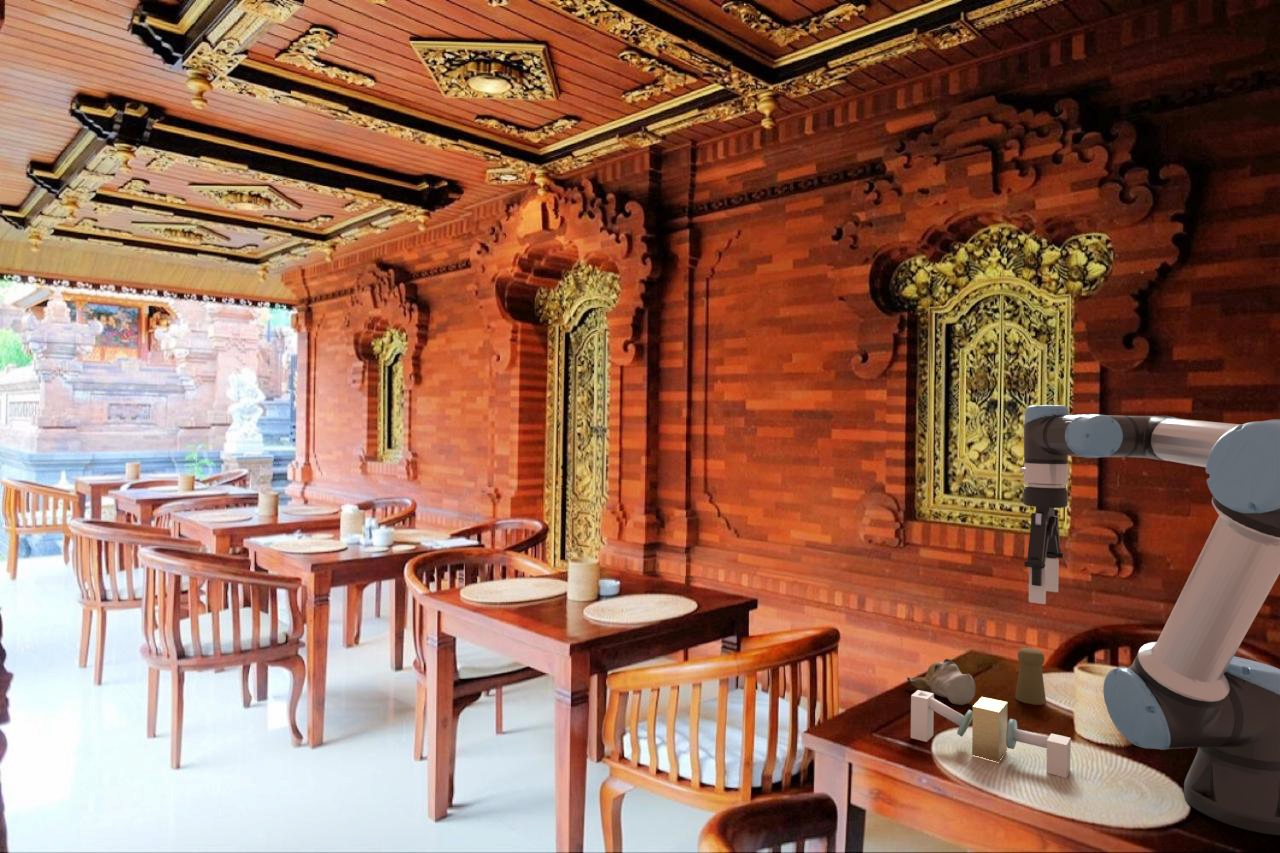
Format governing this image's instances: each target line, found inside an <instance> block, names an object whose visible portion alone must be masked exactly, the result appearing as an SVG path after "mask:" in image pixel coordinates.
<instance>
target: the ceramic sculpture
mask: <svg viewBox="0 0 1280 853" xmlns="http://www.w3.org/2000/svg"><path fill="white" fill-rule="evenodd" d="M906 680H908V682H909V683H910V684H911V685H912V686H913V687H915V688H916V689H917V690H920V691H925V692H930V693H934V695H936V696H938V697H941V698H944V699H945V698H946V699H947V700H948V701H949V702H950V703H951V704H953V705H957V706H965V705H966V704H969V703H970V702H971V701H972V700H973V699H974V698H975V694H976V684H975V679H974V678H973V676H972V675H971V674H970V673H965V674H964V673H962V672H961V671H960V668H959V666H958V665H957V663H955V662H954V661H952V660H951V659H948V658H945V659H944V660H943V662H942V661H941V662H934V663H931V664H930V665H929V666H928V668H927V671H926V675H925V676H924V677H922V676H920V677H919V676H918V677H914V678H913V677H906Z"/></svg>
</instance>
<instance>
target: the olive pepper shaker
mask: <svg viewBox="0 0 1280 853" xmlns="http://www.w3.org/2000/svg"><path fill="white" fill-rule="evenodd" d="M1017 660H1018V662H1019V670H1018V675H1017V684H1016V690H1015V695H1014V698H1015V699H1016V701H1019V702H1021V703H1024V704H1029V705H1035V706H1036V705H1038V706H1039V705H1045V704H1046V703H1047V698H1046V691H1045V690H1046V689H1045V682H1044V674H1043V668H1042V667H1043V665H1044V663H1045V655H1044V653H1043V651H1041V649H1040V650H1039V649H1037V648H1034V647H1033V648H1032V647H1022V648H1020V649H1018V653H1017Z"/></svg>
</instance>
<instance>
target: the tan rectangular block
mask: <svg viewBox="0 0 1280 853" xmlns="http://www.w3.org/2000/svg"><path fill="white" fill-rule="evenodd" d="M1008 703H1009V702H1008V701H1004V700H1001V699H1000V700H999V699H994V698H990V697H984V696H981V697H980V698H979V699H978V700H977V701H976V702H975V703H974V705H972V711H973V717H972V729H971V730H972V740H971V741H972V743H971V745H972V746H971V756H972V755H975V756H979V757H983V758H986V759H989V760H993V761H996V762H999V761H1000V759H1001V758H1002V756H1003V755H1004V754H1005V752H1006V751H1007V752H1008V748H1007V745H1006V731H1007V725H1008ZM1007 752H1006V753H1007ZM1005 755H1006V754H1005ZM1005 755H1004V756H1005ZM1002 759H1003V758H1002ZM1000 762H1001V761H1000ZM1000 762H999V763H1000Z"/></svg>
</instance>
